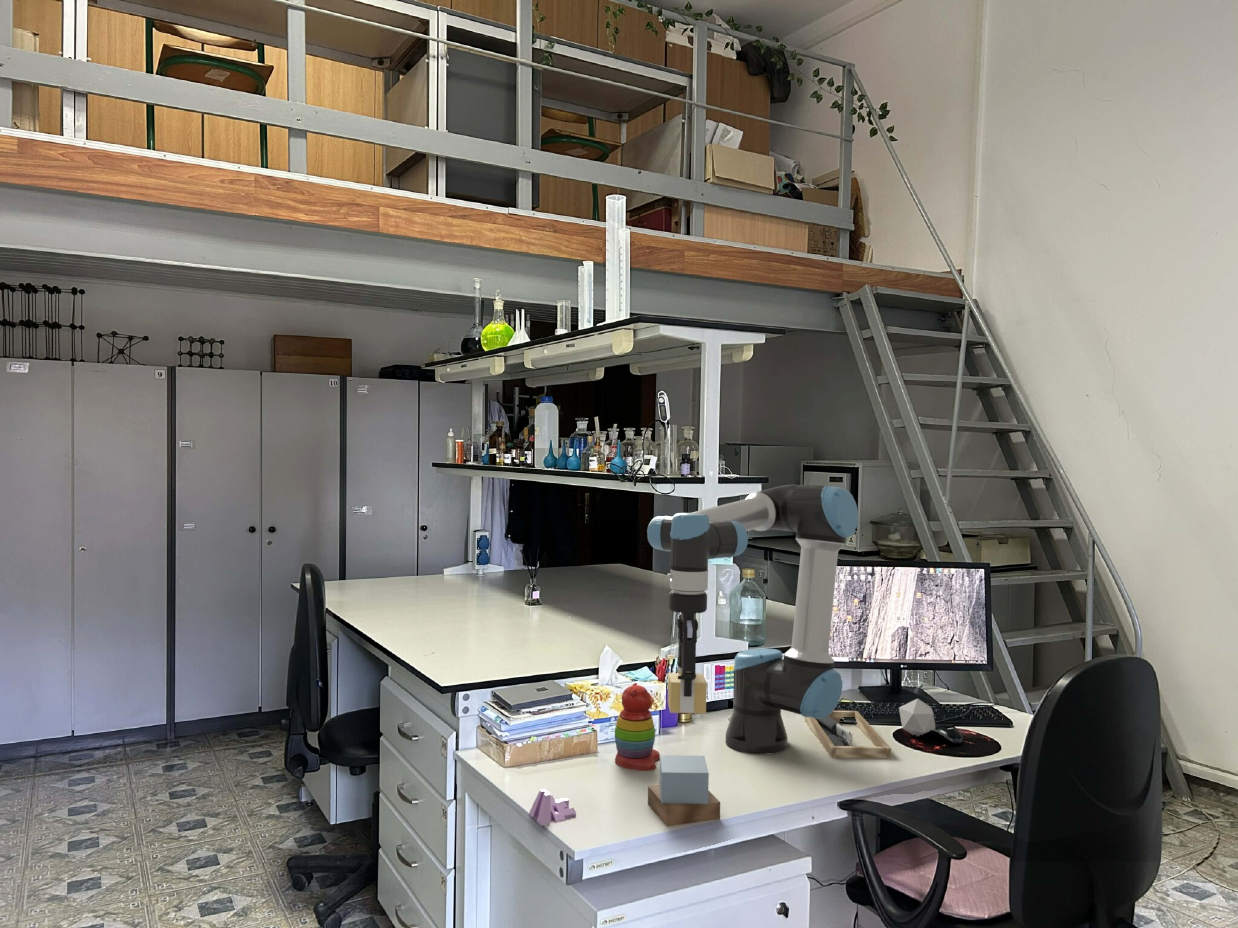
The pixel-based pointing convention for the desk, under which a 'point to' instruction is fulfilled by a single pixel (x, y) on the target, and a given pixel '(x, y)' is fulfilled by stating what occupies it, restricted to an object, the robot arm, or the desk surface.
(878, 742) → the wagon tray frame
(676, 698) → the ochre block
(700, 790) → the blue-grey block
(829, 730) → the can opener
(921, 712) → the die
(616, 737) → the stacking bear
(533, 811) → the letters
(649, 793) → the walnut base block
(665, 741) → the desk surface
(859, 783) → the desk surface
